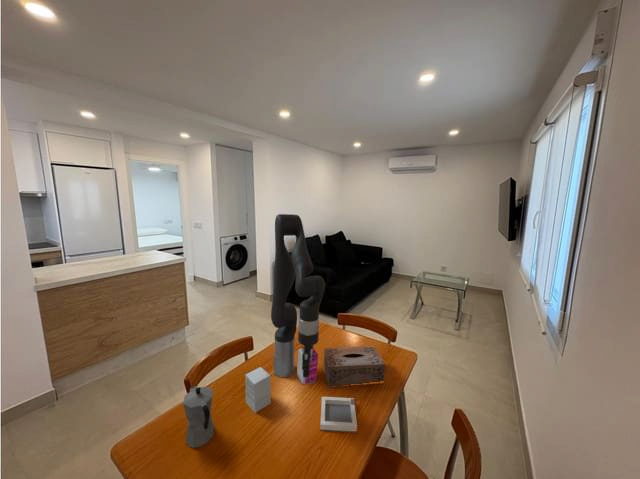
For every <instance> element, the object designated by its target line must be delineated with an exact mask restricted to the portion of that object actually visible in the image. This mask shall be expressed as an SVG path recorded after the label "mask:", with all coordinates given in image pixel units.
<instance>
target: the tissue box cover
mask: <svg viewBox="0 0 640 479" xmlns="http://www.w3.org/2000/svg"><path fill="white" fill-rule="evenodd" d="M323 371H324V374H325V375H324V376H325V380H326V384H327V388H333V387H332V386H339V387H343V386H342V385H351V384H362V383H370V382H380V381H384V382H385V376H386V374H385V372H386V363H385V361H384V359H383V357H382V356H381V354H380V353H379V351H378V349H377V347H376V346H375V345H367V346H362V345H361V346H343V347H342V346H341V347H325V348H323Z"/></svg>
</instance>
